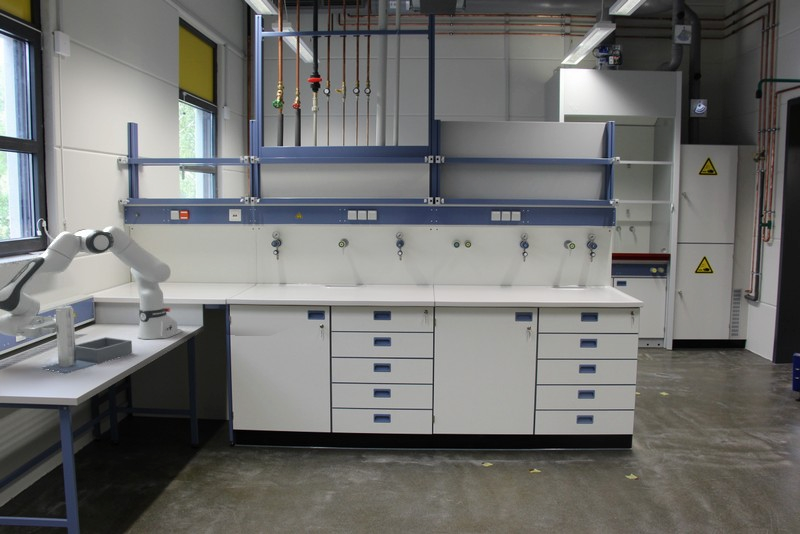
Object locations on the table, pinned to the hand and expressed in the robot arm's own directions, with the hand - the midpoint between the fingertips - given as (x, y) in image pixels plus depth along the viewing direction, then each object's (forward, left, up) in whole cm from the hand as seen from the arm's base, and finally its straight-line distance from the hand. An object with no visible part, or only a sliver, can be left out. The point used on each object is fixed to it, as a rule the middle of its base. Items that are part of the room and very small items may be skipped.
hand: (62, 328), depth 247 cm
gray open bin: (-18, +1, -16) cm, 24 cm away
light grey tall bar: (0, +2, -16) cm, 16 cm away
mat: (-1, +2, -16) cm, 16 cm away
